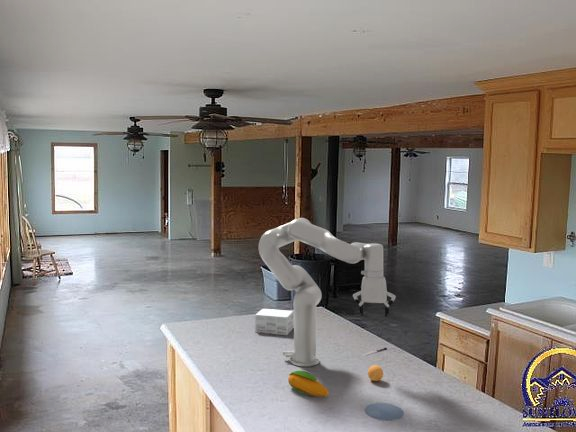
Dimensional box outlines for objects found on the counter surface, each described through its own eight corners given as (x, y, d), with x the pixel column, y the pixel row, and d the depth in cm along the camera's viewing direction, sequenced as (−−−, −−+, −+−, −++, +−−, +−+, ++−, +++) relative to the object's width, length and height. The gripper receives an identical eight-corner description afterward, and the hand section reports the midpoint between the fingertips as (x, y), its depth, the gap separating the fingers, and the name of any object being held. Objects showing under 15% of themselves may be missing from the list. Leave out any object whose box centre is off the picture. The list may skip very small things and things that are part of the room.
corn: (297, 363, 209) (336, 379, 194) (298, 382, 210) (336, 399, 195) (283, 369, 204) (321, 386, 189) (283, 388, 205) (322, 406, 190)
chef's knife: (353, 357, 242) (358, 358, 239) (353, 354, 242) (358, 356, 239) (382, 348, 254) (387, 349, 251) (382, 346, 254) (387, 347, 251)
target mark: (366, 419, 181) (366, 418, 181) (363, 402, 193) (363, 401, 193) (406, 420, 180) (406, 420, 180) (400, 403, 193) (400, 403, 193)
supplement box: (293, 328, 282) (294, 310, 281) (287, 335, 269) (287, 317, 268) (262, 325, 286) (262, 307, 285) (254, 332, 273) (254, 314, 272)
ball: (368, 383, 211) (368, 368, 210) (366, 377, 217) (367, 362, 216) (383, 384, 210) (384, 368, 210) (382, 378, 216) (382, 363, 216)
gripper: (351, 275, 220) (351, 317, 221) (395, 276, 216) (395, 318, 217) (353, 271, 227) (353, 312, 228) (396, 272, 223) (396, 314, 225)
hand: (374, 315), depth 223 cm, fingers open, 9 cm apart
